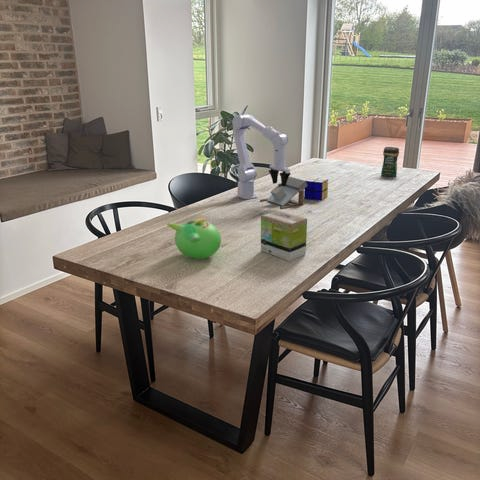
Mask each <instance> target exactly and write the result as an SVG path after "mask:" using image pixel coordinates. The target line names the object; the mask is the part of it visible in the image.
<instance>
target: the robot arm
mask: <svg viewBox="0 0 480 480" xmlns="http://www.w3.org/2000/svg"><path fill="white" fill-rule="evenodd" d="M231 123H232V135H233V139H234V143H235V147H236V153H237V156H238V157H237V158H238V161H239V162H238V163H239V166H238V168H237V177H238V178H237V179H238V180H239V181H238V182H237V195H236V197H239V198H240V199H244V200H250V199H256V198H258V196H257V195H255V180H256V178H257V176H258V172H257V170H256V168H255V165H254V164H253V163H252V162H251V161H250V155H249V152H248V146H247V141H246V139H245V135H244V133H245V132H246V130H247V129H248V128H249V127H251V128H254V129H255V130H257V131H259V132H261V133H262V136H263V137H264V138H265V139H267V140H268V141H270V142H271V144H272V145H273V150H274V151H273V153H274V155H273V156H274V157H273V164H270V165H269V170H268V173H269V174H270V177H271V180H272V184H273V185H275V184H278V177H279V175H280V181H281V184H282V186H286V183H287V180H288V178H289V177H291V176H290V175H291V169H290V168H289V167H287V166H286V153H287V150H286V149H287V147H286V145H287V144H288V143H289V137H288V135H286V134H285V133H280V131H278V130H275V128H274V127H273V126H269V125H268V126H265V125H264V124H263V123H262V122H260V121H259V120H258V119H256V118H255V117H254V115H251V114H250V113H245V114H237V115H235V116H234V117H233V119H232V120H231Z"/></svg>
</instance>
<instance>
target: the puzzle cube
mask: <svg viewBox="0 0 480 480" xmlns="http://www.w3.org/2000/svg"><path fill="white" fill-rule="evenodd" d="M305 181H306V183H307V185H308V186H307V187H306V188H305V189H304V199H305V200H310V199H311V200H313V201H319V200H320V202H321V201H323V200H325V199H326V198H327V197H328V194H329V193H328V190H329V189H328V188H329V179H328V178H322V177H320V178H319V177H310V178H307V179H306V180H305Z"/></svg>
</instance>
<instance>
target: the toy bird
mask: <svg viewBox="0 0 480 480" xmlns="http://www.w3.org/2000/svg"><path fill="white" fill-rule="evenodd" d="M205 219H206V218H205V217H202V218H198V219H194V220H188V221H186V222H184V223H181V224H179V223H173V222H167V224H166V226H168V227H170V228H171V229H172V230H174V231H176V232H175V234H174V243H175V246H176V248H177V249H178V251H179V252H180V253H181V254H183V255H184V256H186V257H187V258H191V259H197V260H198V259H206V258H210V257H212V256H214V255H215V254H216V253H217V252H218V251H219V249H220V246H221V244H222V237H221V232H220V231H219V230H218V228H217V227H216V226H215V225H213V224H212V223H211V222H209V221H206V220H205Z"/></svg>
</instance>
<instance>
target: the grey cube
mask: <svg viewBox="0 0 480 480" xmlns="http://www.w3.org/2000/svg"><path fill="white" fill-rule="evenodd" d="M270 194H271V195H273V197H274V199H276V200H278V201H281V200H282V199H283V198H284V197H285V196H286V194H285V192H284V190H283V188H281V187H278V185H277V186H275V187H274V188H273V189H271V191H270Z"/></svg>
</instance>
